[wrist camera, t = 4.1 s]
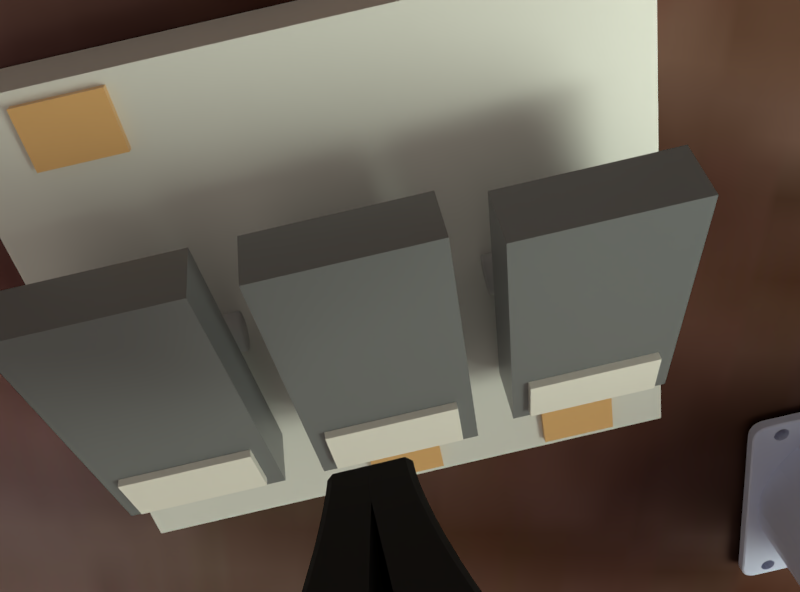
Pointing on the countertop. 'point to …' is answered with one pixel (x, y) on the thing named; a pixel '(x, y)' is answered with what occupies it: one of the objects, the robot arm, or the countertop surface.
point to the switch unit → (326, 164)
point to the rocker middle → (364, 328)
